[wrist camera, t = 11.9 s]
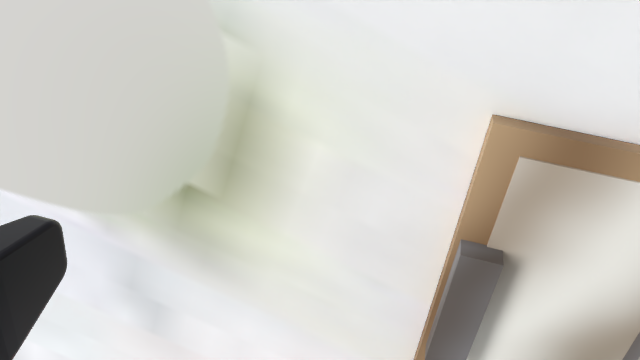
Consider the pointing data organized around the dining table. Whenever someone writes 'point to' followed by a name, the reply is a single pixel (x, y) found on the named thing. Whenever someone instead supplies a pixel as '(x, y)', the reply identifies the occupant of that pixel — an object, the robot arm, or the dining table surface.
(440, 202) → the dining table surface
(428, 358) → the square wooden frame
